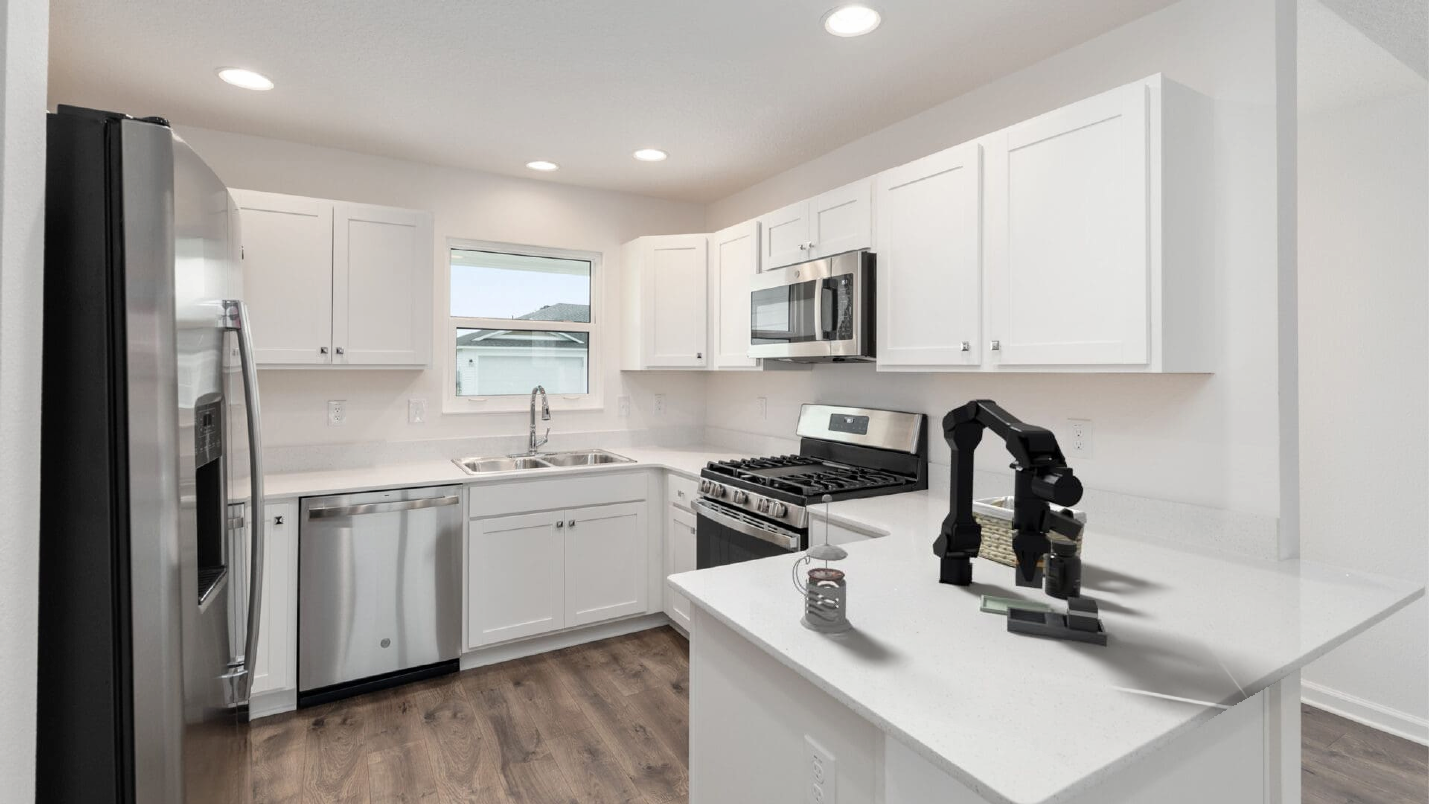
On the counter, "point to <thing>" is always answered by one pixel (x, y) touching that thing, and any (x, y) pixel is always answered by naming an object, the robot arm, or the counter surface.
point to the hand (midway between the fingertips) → (1028, 577)
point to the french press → (825, 589)
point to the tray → (1009, 604)
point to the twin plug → (1082, 614)
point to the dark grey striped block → (1037, 577)
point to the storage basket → (1009, 529)
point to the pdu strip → (1051, 626)
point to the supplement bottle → (1063, 570)
